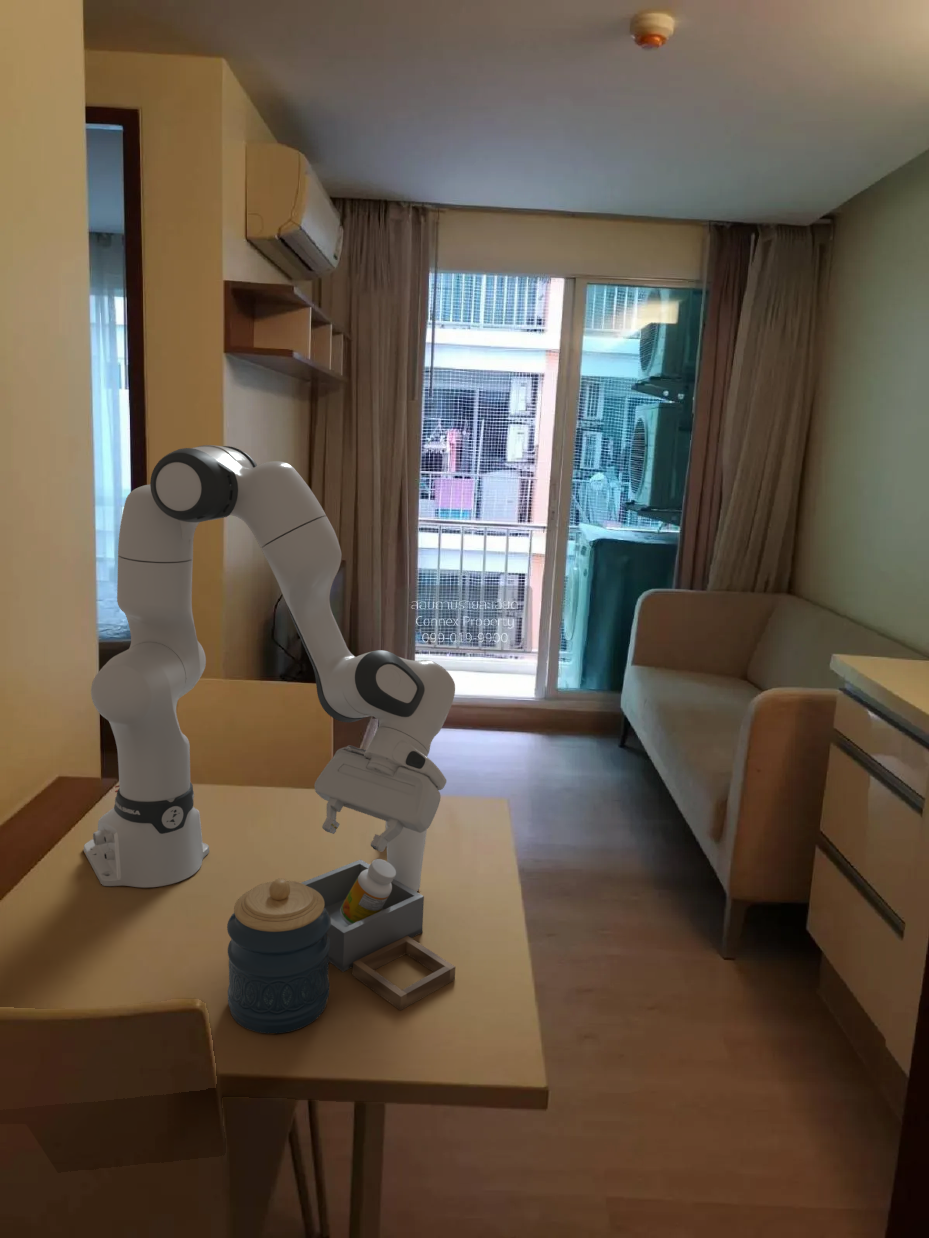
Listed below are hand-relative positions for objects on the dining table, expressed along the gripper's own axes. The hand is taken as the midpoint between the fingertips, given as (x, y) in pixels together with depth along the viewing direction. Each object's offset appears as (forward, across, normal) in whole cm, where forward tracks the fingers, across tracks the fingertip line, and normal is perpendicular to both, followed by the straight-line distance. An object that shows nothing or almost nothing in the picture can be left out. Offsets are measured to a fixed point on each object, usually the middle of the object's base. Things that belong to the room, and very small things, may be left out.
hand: (351, 839), depth 129 cm
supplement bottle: (+9, 0, +10) cm, 13 cm away
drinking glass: (0, -1, +21) cm, 21 cm away
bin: (+10, 0, +11) cm, 15 cm away
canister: (+24, +4, -2) cm, 24 cm away
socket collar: (+14, +13, +8) cm, 20 cm away
